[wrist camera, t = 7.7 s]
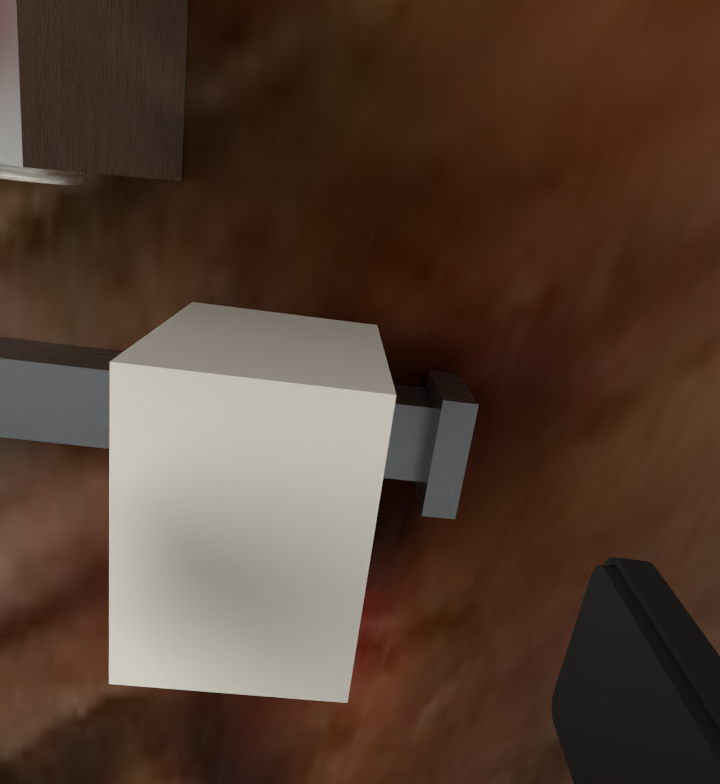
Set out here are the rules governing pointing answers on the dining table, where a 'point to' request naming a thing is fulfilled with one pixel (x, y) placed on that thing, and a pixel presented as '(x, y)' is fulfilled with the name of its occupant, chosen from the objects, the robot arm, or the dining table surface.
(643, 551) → the dining table surface
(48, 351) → the rail
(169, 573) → the carriage
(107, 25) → the grey box
